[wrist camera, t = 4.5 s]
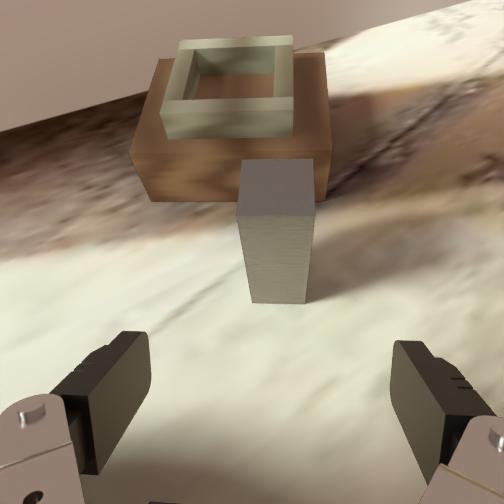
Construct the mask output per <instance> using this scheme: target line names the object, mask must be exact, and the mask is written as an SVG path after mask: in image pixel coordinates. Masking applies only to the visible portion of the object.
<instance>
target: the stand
mask: <svg viewBox="0 0 504 504" xmlns="http://www.w3.org/2000/svg"><path fill="white" fill-rule="evenodd" d="M332 151H333V148H332V136H331V124H330V113H329V101H328V89H327V77H326V66H325V54H324V52H323V53H298V54H293V35H286V36H266V37H265V36H264V37H242V38H219V39H199V40H180V43H179V47H178V51H177V54H176V57H175V58H174V59H159V61H158V64H157V67H156V70H155V73H154V76H153V79H152V82H151V85H150V88H149V91H148V94H147V97H146V100H145V103H144V107H143V110H142V113H141V116H140V119H139V122H138V125H137V128H136V131H135V134H134V137H133V140H132V143H131V146H130V149H129V153H128V154H129V156H130V158H131V160H132V162H133V164H134V166H135V168H136V171H137V173H138V175H139V177H140V179H141V181H142V183H143V185H144V187H145V189H146V191H147V194H148V196H149V198H150V200H151V202H200V201H238V194H239V184H240V173H241V163H242V160H248V159H313V171H314V194H315V201H325V198H326V191H327V184H328V178H329V171H330V165H331V158H332Z"/></svg>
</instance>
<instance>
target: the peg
mask: <svg viewBox="0 0 504 504" xmlns="http://www.w3.org/2000/svg"><path fill="white" fill-rule="evenodd" d="M236 216H237V222H238V228H239V233H240V239H241V244H242V250H243V255H244V261H245V266H246V272H247V278H248V283H249V289H250V294H251V300H252V303H274V304H305V297H306V289H307V281H308V273H309V265H310V257H311V248H312V240H313V232H314V224H315V194H314V171H313V159H248V160H242V163H241V173H240V184H239V194H238V204H237V215H236Z"/></svg>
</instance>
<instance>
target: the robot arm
mask: <svg viewBox="0 0 504 504" xmlns="http://www.w3.org/2000/svg"><path fill="white" fill-rule="evenodd" d="M150 384H151V364H150V352H149V340H148V335H147V333H146V332H140V331H122V332H121V333H120V334H119V335H118V336H117V337H116V338H115V339H114V340H113V341H112V342H111V343H110V344H109V345H104V346H103V347H101V348H99V349H97V350H95V351H93V352H92V353H90V354H89V355H88V356H87V357H86V358H85V359H84V360H83V361H82V363H81V364H79V365H78V366H77V367H76V368H75V369H74V371H73V372H71V373H70V374H69V375H68V376H67V377H65V378H64V379H63V380H62V381H61V382H60V383H59V384H58V385H57V386H56V387H55V388H54V389H53V390H52V391H51V392H50V393H49V394H40V395H35V396H31V397H28V398H25V399H22V400H20V401H18V402H16V403H14V404H13V405H11V406H10V407H8V408H7V409H6V410H5V411H3V412H2V414H1V415H0V504H85V503H84V498H83V493H82V488H81V483H80V478H79V476H80V474H88V475H99V473H100V472H101V470H102V468H103V467H104V465H105V463H106V462H107V460H108V458H109V457H110V455H111V453H112V452H113V450H114V448H115V447H116V445H117V444H118V442H119V440H120V439H121V437H122V435H123V434H124V432H125V430H126V429H127V427H128V425H129V424H130V422H131V420H132V419H133V417H134V415H135V414H136V412H137V410H138V409H139V407H140V405H141V404H142V402H143V400H144V399H145V397H146V395H147V394H148V391H149V388H150ZM390 396H391V402H392V405H393V408H394V410H395V412H396V415H397V417H398V419H399V421H400V424H401V426H402V428H403V431H404V433H405V435H406V437H407V440H408V442H409V444H410V446H411V449H412V451H413V453H414V455H415V458H416V460H417V462H418V465H419V467H420V469H421V471H422V474H423V476H424V478H425V480H426V483H427V485H428V487H427V489H426V491H425V493H424V495H423V497H422V499H421V500H420V502H419V504H504V418H500V417H497V416H496V415H495V413H494V412H493V411H492V410H491V409H490V407H489V406H488V405H487V404H486V403H485V401H484V400H483V399H482V398H481V397H480V395H479V394H478V393H477V392H476V391H475V390H473V387H472V386H471V385H470V383H469V382H468V381H467V380H465V377H464V376H463V375H462V374H461V373H460V371H459V370H458V369H457V368H456V367H455V366H453V365H452V364H450V363H448V362H447V361H445V360H444V359H442V358H434V356H433V355H432V354H431V352H430V351H429V350H428V348H427V347H426V346H425V344H424V343H423V342H422V341H403V340H396V341H395V343H394V347H393V357H392V368H391V379H390ZM148 504H175V503H162V502H149V503H148Z"/></svg>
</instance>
